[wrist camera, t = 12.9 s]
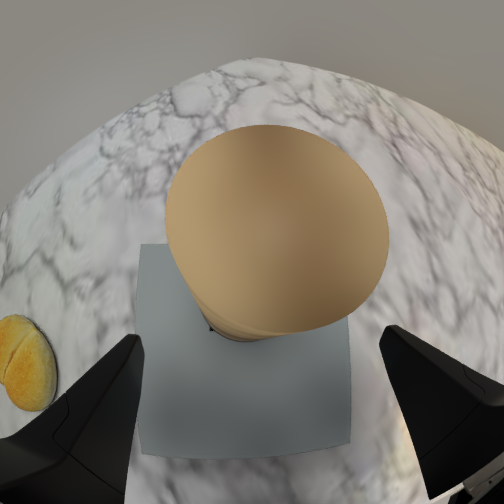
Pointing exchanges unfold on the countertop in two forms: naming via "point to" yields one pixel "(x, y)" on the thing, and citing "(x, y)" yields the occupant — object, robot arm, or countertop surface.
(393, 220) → the countertop surface
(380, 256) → the oak leg
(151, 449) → the slate board
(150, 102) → the countertop surface
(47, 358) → the bread roll
